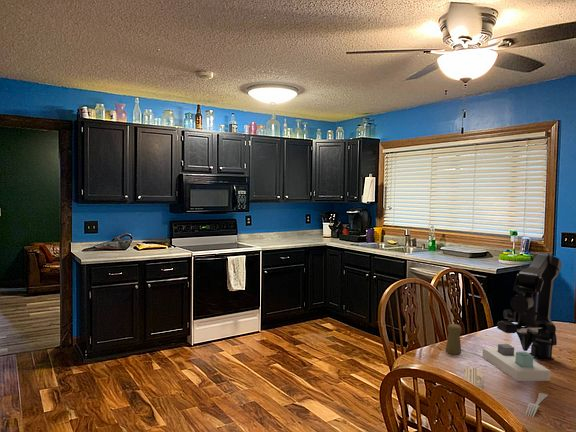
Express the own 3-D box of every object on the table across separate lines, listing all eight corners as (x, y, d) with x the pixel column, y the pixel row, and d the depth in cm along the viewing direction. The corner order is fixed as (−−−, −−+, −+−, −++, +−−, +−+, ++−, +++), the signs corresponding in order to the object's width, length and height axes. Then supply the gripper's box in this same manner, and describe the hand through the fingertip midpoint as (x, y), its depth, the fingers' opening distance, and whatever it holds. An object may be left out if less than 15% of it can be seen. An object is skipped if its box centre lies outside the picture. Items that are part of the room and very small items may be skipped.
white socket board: (511, 356, 173) (511, 347, 173) (549, 380, 151) (550, 370, 151) (482, 356, 172) (482, 348, 172) (517, 381, 150) (517, 371, 150)
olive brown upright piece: (462, 354, 174) (464, 327, 173) (446, 353, 175) (447, 326, 174) (459, 349, 180) (461, 323, 179) (444, 348, 181) (445, 321, 180)
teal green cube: (525, 362, 158) (526, 352, 158) (532, 367, 154) (533, 356, 154) (515, 363, 158) (515, 352, 158) (522, 367, 154) (522, 356, 154)
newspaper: (464, 370, 160) (464, 365, 160) (485, 374, 157) (485, 369, 157) (462, 397, 138) (462, 392, 138) (487, 403, 135) (487, 397, 135)
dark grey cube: (507, 354, 169) (508, 344, 169) (513, 358, 165) (514, 347, 165) (497, 354, 169) (498, 344, 169) (503, 358, 165) (504, 347, 165)
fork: (548, 403, 141) (549, 394, 141) (534, 420, 125) (535, 410, 125) (539, 400, 142) (539, 391, 143) (523, 416, 127) (524, 407, 127)
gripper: (537, 301, 164) (534, 342, 165) (489, 301, 162) (487, 342, 163) (558, 309, 153) (555, 353, 154) (507, 309, 151) (505, 354, 152)
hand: (524, 350), depth 156 cm, fingers closed
